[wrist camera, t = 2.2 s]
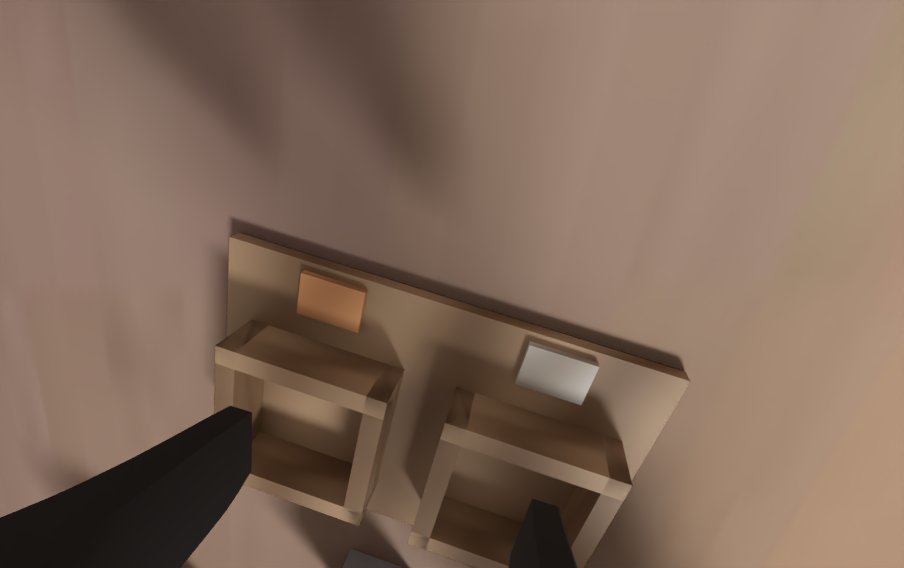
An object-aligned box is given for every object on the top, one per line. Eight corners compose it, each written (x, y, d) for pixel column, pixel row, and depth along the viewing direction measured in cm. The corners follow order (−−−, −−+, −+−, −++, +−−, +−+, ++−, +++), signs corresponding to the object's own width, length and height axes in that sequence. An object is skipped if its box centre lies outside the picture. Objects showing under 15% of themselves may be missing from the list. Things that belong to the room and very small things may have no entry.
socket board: (685, 372, 16) (712, 422, 14) (571, 569, 21) (575, 633, 19) (239, 232, 18) (187, 254, 15) (230, 449, 22) (190, 493, 20)
